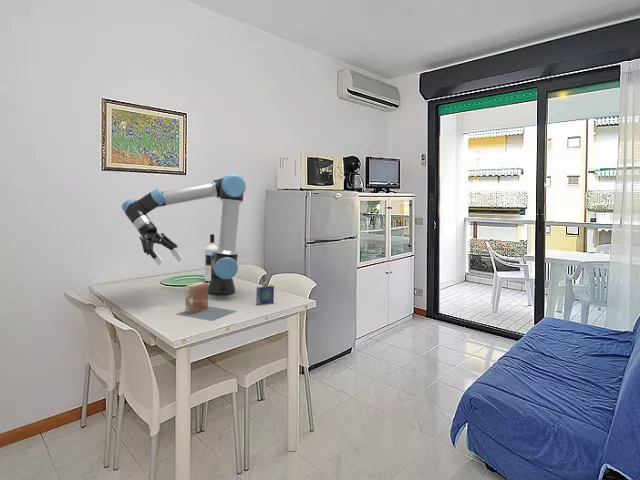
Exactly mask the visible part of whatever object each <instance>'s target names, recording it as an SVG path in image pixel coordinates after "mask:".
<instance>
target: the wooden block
mask: <svg viewBox="0 0 640 480" xmlns="http://www.w3.org/2000/svg"><path fill="white" fill-rule="evenodd" d="M208 286H209V282H196V283H193V284H189V285H185V296H184V297H185V300H184V301H185V308H184V309H185V310H184V311H185V313H190V314H194V313H197V312H200V311H203V310H206V309H208V306H209V300H208V299H209V293H208Z"/></svg>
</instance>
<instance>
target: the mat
mask: <svg viewBox="0 0 640 480" xmlns="http://www.w3.org/2000/svg"><path fill="white" fill-rule="evenodd" d="M237 312H238V311H237V310H234V309H227V308H221V307H216V306H215V307H214V306H209V305H208V309H206V310H203V311H200V312H197V313H194V314H190V313H185V310H184V311H181V312H177V313H176V315H177V316H182V317H183V316H184V317H186V318H187V317H188V318H193V319H199V320H205V321H209V322H212V321H216V320H219V319H221V318H224V317H226V316H229V315H231V314H232V315H233V314H234V313H237Z"/></svg>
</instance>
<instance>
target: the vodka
mask: <svg viewBox="0 0 640 480" xmlns="http://www.w3.org/2000/svg"><path fill="white" fill-rule="evenodd" d="M218 248H219V246H217V245H216V244H215V234H213V233H212V234H211V233H210V234H209V245H207V246H206V247H205V248H204V250H205V253H204V254H205V255H204V256H205V259H204V260H205V262H204V263H205V264H204V269H205V270H204V277H203V279H204V278H205V279H211V253H212V252H215V251H216V250H218Z"/></svg>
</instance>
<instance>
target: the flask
mask: <svg viewBox="0 0 640 480" xmlns="http://www.w3.org/2000/svg"><path fill="white" fill-rule="evenodd" d="M274 291H275V286H274V285H272V284H267V282H263V285H261V286H256V300H255V304H256V305H257V306H261V305H270V303H273V304H274V302H275V301H274V296H275V295H274V294H275V292H274Z"/></svg>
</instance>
